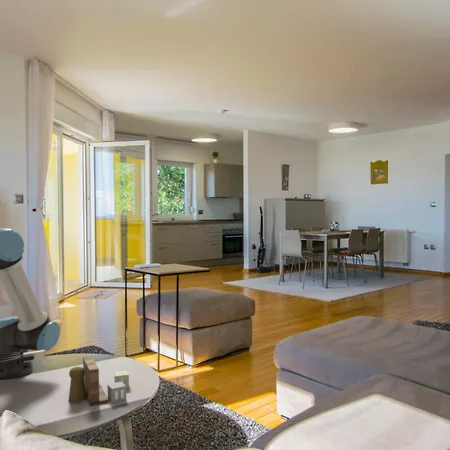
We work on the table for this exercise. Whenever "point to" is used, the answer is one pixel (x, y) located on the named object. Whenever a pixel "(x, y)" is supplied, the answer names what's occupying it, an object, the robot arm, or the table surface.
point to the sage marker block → (122, 377)
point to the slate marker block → (116, 392)
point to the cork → (77, 385)
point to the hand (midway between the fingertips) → (44, 354)
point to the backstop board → (93, 383)
